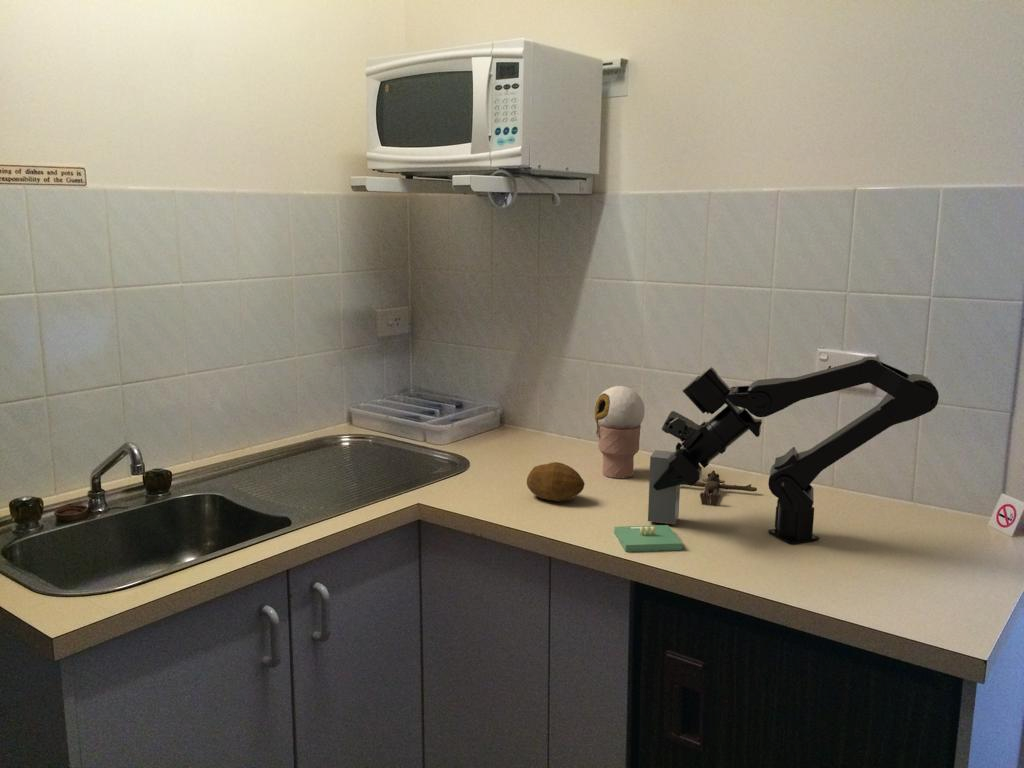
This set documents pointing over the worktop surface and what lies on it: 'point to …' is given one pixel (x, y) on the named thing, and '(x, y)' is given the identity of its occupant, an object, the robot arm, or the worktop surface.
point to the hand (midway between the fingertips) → (657, 484)
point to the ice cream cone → (619, 429)
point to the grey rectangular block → (662, 492)
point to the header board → (647, 538)
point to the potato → (554, 482)
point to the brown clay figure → (716, 488)
